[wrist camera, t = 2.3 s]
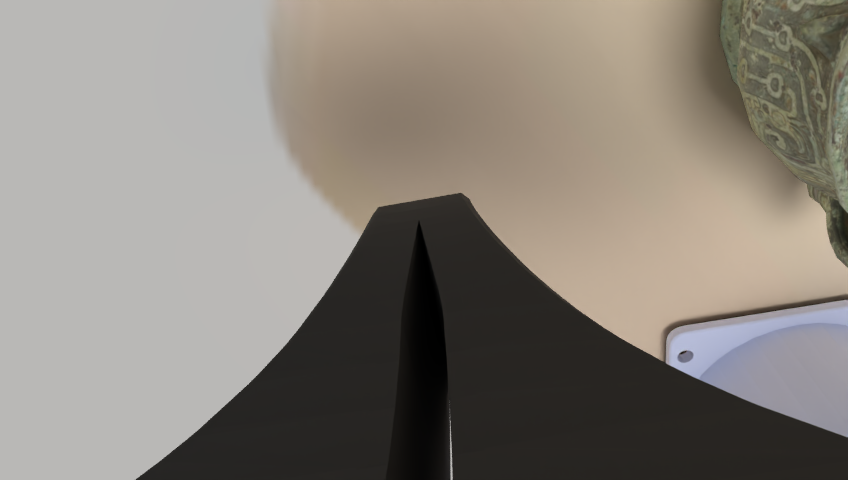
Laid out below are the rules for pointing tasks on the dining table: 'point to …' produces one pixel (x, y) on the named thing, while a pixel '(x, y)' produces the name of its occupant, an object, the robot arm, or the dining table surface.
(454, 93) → the dining table surface
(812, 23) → the vessel
